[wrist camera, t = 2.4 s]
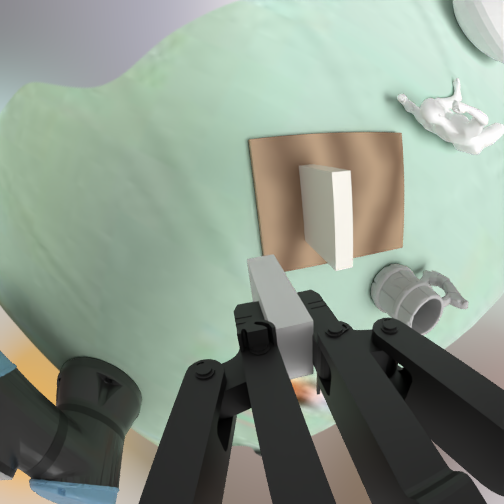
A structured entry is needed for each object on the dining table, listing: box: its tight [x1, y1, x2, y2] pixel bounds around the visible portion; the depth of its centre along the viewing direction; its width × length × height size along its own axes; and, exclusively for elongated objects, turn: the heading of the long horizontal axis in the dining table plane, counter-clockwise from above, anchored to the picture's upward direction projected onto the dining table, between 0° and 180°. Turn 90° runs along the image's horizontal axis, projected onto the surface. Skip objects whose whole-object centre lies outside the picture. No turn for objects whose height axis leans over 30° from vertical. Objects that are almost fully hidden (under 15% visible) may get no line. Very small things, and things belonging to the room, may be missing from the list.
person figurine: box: [397, 78, 504, 155], centre depth 28 cm, size 13×13×18 cm
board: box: [248, 132, 404, 272], centre depth 33 cm, size 20×16×1 cm
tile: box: [299, 164, 353, 271], centre depth 28 cm, size 2×9×9 cm, turn 7°
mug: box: [371, 264, 468, 335], centre depth 35 cm, size 8×12×12 cm, turn 107°
